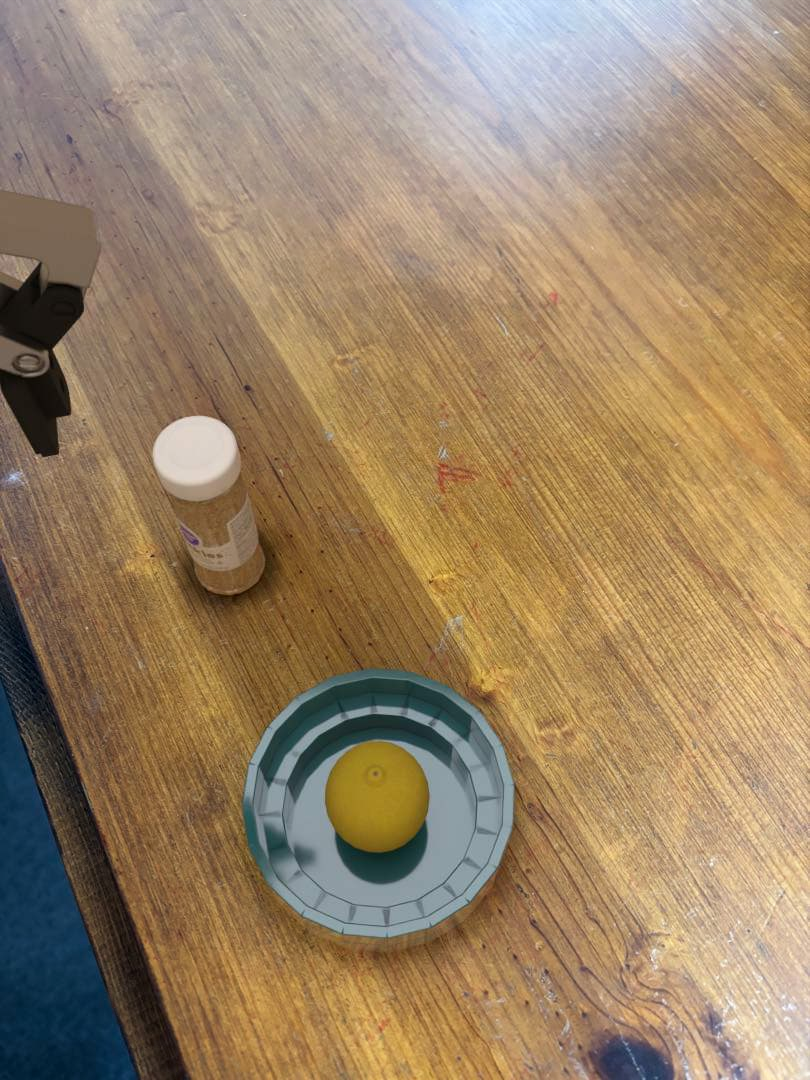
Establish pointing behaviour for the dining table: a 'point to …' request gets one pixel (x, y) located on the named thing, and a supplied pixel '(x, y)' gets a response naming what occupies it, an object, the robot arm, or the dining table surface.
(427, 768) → the bowl
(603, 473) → the dining table surface
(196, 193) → the dining table surface
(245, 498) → the sprinkles bottle
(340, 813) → the lemon
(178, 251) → the dining table surface
